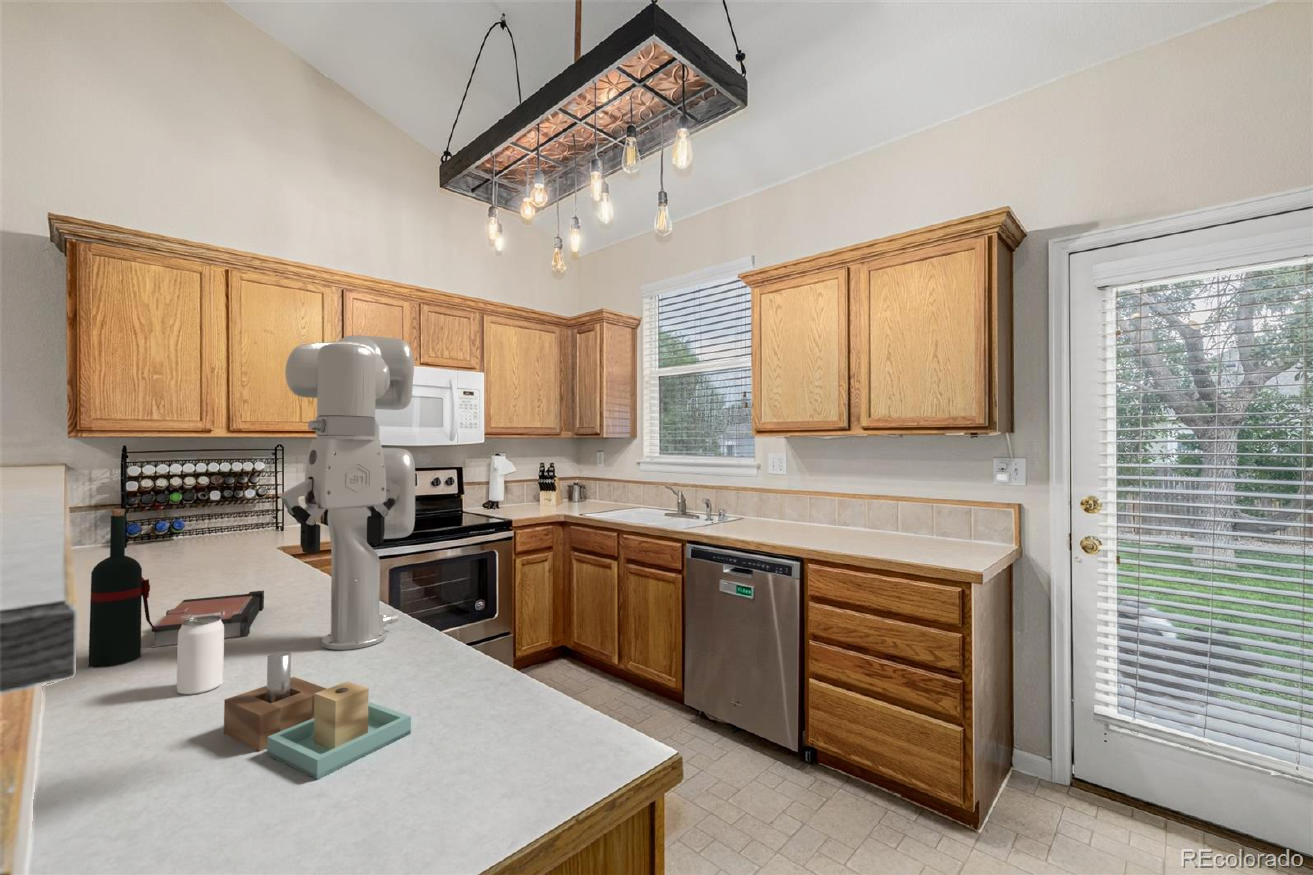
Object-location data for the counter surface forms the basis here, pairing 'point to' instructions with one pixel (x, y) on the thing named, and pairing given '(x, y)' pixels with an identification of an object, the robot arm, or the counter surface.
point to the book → (231, 609)
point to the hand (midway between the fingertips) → (344, 547)
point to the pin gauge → (278, 676)
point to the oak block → (340, 714)
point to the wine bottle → (116, 603)
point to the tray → (320, 761)
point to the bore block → (268, 713)
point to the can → (200, 655)
